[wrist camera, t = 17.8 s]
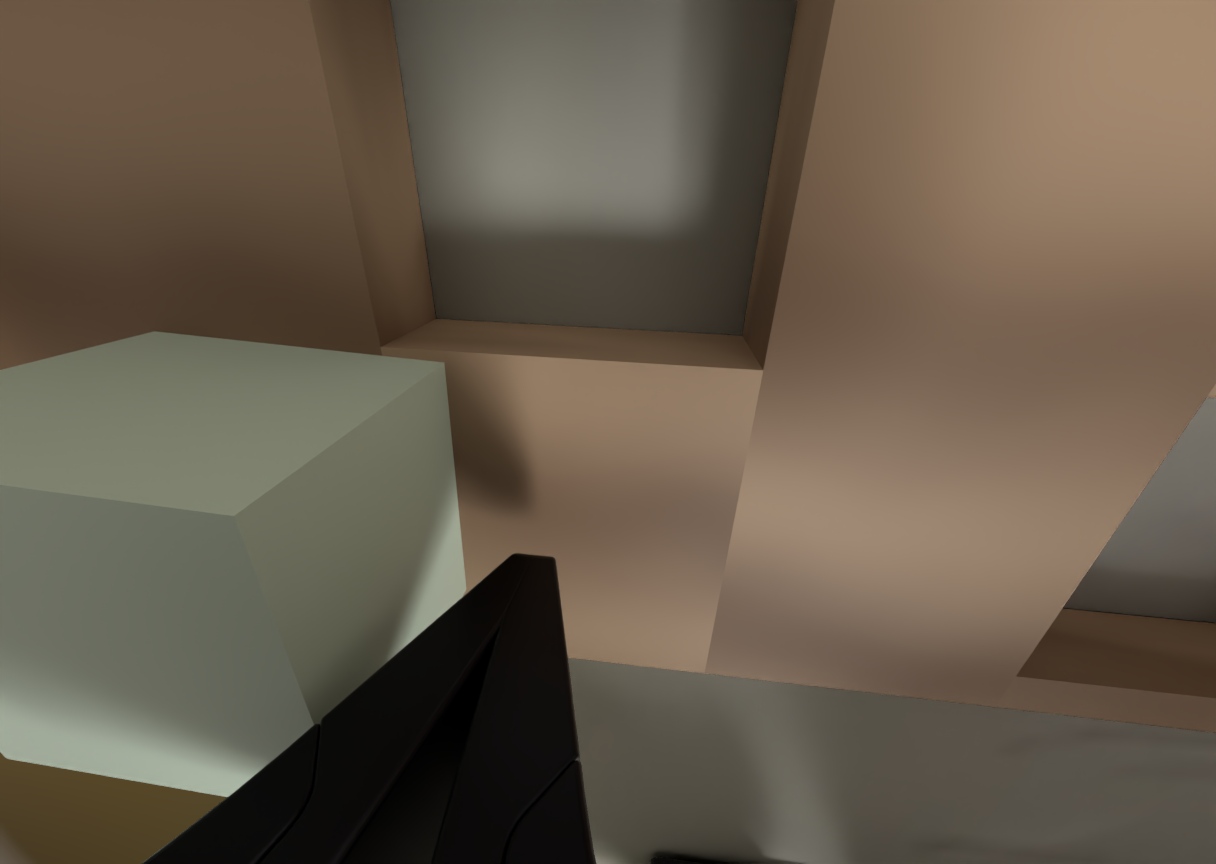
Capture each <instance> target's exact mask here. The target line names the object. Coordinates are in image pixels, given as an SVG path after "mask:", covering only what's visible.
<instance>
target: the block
mask: <svg viewBox="0 0 1216 864" xmlns="http://www.w3.org/2000/svg"><path fill="white" fill-rule="evenodd" d="M465 591H466V580H465V569H464V559H463V549H462V539H461V528H460V518H459V508H458V498H457V487H456V477H455V467H454V457H453V446H452V436H451V426H450V416H449V405H448V395H447V385H446V375H445V364H444V362H435V361H426V360H416V359H407V358H398V357H388V356H379V355H370V354H361V353H351V352H342V351H333V350H323V349H314V348H305V347H295V346H286V345H277V344H268V343H258V342H249V341H240V340H230V339H221V338H212V337H202V336H193V335H184V334H174V333H165V332H156V331H154V332H150V333H146V334H142V335H138V336H134V337H130V338H126V339H122V340H118V341H114V342H110V343H106V344H102V345H98V346H94V347H90V348H86V349H82V350H78V351H74V352H70V353H66V354H62V355H58V356H54V357H50V358H46V359H42V360H38V361H34V362H30V363H26V364H22V365H19V366H15V367H11V368H7V369H3V370H0V752H1V753H2V754H3V755H4V756H5V757H6V758H7V759H12V760H18V761H24V762H29V763H36V764H41V765H47V766H53V767H58V768H64V769H70V770H76V771H81V772H87V773H94V774H98V775H104V776H110V777H116V778H121V779H128V780H133V781H139V782H145V783H150V784H156V785H161V786H168V787H173V788H179V789H184V790H190V791H196V792H202V793H208V794H213V795H219V796H225V797H229V796H230V795H231V794H232V793H234V792H235V791H236V790H237V789H239V788H240V787H241V786H242V785H243V784H245V783H246V782H247V781H248V780H249V779H251V778H252V777H253V776H254V775H255V774H257V773H258V772H259V771H260V770H261V769H263V768H264V767H265V766H266V765H267V764H269V763H270V762H271V761H272V760H273V759H275V758H276V757H277V756H278V755H279V754H281V753H282V752H283V751H284V750H285V749H287V748H288V747H289V746H290V745H291V744H292V743H293V742H295V741H296V740H297V739H298V738H299V737H300V736H302V735H303V734H304V733H305V732H306V731H307V730H309V729H310V728H311V727H312V726H313V725H314V724H320V723H321V719H322V718H323V717H324V716H325V715H326V714H327V713H329V712H330V711H331V710H332V709H333V708H334V707H336V706H337V705H338V704H339V703H340V702H341V701H342V700H344V699H345V698H346V697H347V696H348V695H349V694H351V693H352V692H353V691H354V690H355V689H356V688H358V687H359V686H360V685H361V684H362V683H363V682H364V681H366V680H367V679H368V678H369V677H370V676H371V675H373V674H374V673H375V672H376V671H377V670H378V669H380V668H381V667H382V666H383V665H384V664H385V663H386V662H388V661H389V660H390V659H391V658H392V657H393V656H395V655H396V654H397V653H398V652H399V651H400V650H402V649H403V648H404V647H405V646H406V645H407V644H408V643H410V642H411V641H412V640H413V639H414V638H415V637H417V636H418V635H419V634H420V633H421V632H422V631H424V630H425V629H426V628H427V627H428V626H429V625H430V624H432V623H433V622H434V621H435V620H436V619H437V618H439V617H440V616H441V615H442V614H443V613H444V612H446V611H447V610H448V609H449V608H450V607H451V606H452V605H454V604H455V603H456V602H457V601H458V600H459V599H461V598H462V597H463V595H464V593H465Z"/></svg>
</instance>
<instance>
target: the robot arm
mask: <svg viewBox="0 0 1216 864" xmlns="http://www.w3.org/2000/svg"><path fill="white" fill-rule="evenodd" d="M142 864H596V860H595V855H594V850H593V843H592V837H591V831H590V824H589V818H588V811H587V805H586V798H585V790H584V782H583V774H582V766H581V763H580V752H579V744H578V736H577V728H576V720H575V711H574V703H573V695H572V687H571V679H570V671H569V663H568V655H567V646H566V638H565V630H564V622H563V614H562V606H561V598H560V589H559V581H558V573H557V565H556V559H555V558H554V557H551V556H541V555H532V554H522V553H514V554H512V555H510V556H509V557H508V558H507V559H506V560H505V561H503V562H502V563H501V564H500V565H499V566H498V567H496V568H495V569H494V570H493V571H492V572H491V573H490V574H488V575H487V576H486V577H485V578H484V579H483V580H481V581H480V582H479V583H478V584H477V585H476V586H474V587H473V588H472V589H471V590H470V591H469V592H468V593H466V594H465V595H464V596H463V597H462V598H461V599H459V600H458V601H457V602H456V603H455V604H454V605H452V606H451V607H450V608H449V609H448V610H447V611H446V612H444V613H443V614H442V615H441V616H440V617H439V618H437V619H436V620H435V621H434V622H433V623H432V624H430V625H429V626H428V627H427V628H426V629H425V630H424V631H422V632H421V633H420V634H419V635H418V636H417V637H415V638H414V639H413V640H412V641H411V642H410V643H408V644H407V645H406V646H405V647H404V648H403V649H402V650H400V651H399V652H398V653H397V654H396V655H395V656H393V657H392V658H391V659H390V660H389V661H388V662H386V663H385V664H384V665H383V666H382V667H381V668H380V669H378V670H377V671H376V672H375V673H374V674H373V675H371V676H370V677H369V678H368V679H367V680H366V681H364V682H363V683H362V684H361V685H360V686H359V687H358V688H356V689H355V690H354V691H353V692H352V693H351V694H349V695H348V696H347V697H346V698H345V699H344V700H342V701H341V702H340V703H339V704H338V705H337V706H336V707H334V708H333V709H332V710H331V711H330V712H329V713H327V714H326V715H325V716H324V717H323V718H322V719H321V723H320V724H314V725H313V726H312V727H311V728H310V729H309V730H307V731H306V732H305V733H304V734H303V735H302V736H300V737H299V738H298V739H297V740H296V741H295V742H293V743H292V744H291V745H290V746H289V747H288V748H287V749H285V750H284V751H283V752H282V753H281V754H279V755H278V756H277V757H276V758H275V759H273V760H272V761H271V762H270V763H269V764H267V765H266V766H265V767H264V768H263V769H261V770H260V771H259V772H258V773H257V774H255V775H254V776H253V777H252V778H251V779H249V780H248V781H247V782H246V783H245V784H243V785H242V786H241V787H240V788H239V789H237V790H236V791H235V792H234V793H232V794H231V795H230V796H229V797H227V798H226V799H225V800H224V801H222V802H221V803H220V804H219V805H217V806H216V807H214V808H213V809H212V810H211V811H209V812H208V813H207V814H205V815H204V816H203V817H202V818H200V819H199V820H198V821H197V822H195V823H194V824H193V825H191V826H190V827H189V828H188V829H186V830H185V831H184V832H182V833H181V834H180V835H179V836H177V837H176V838H175V839H173V840H172V841H171V842H169V843H168V844H167V845H166V846H164V847H163V848H162V849H160V850H159V851H158V852H156V853H155V854H154V855H152V856H151V857H150V858H148V859H147V860H146V861H144V862H143V863H142ZM649 864H702V863H696V862H689V861H682V860H676V859H669V858H661V857H657V858H653V859H651V860H650V863H649Z"/></svg>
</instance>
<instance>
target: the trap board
mask: <svg viewBox="0 0 1216 864" xmlns="http://www.w3.org/2000/svg"><path fill="white" fill-rule="evenodd" d="M154 331H156V332H165V333H174V334H184V335H193V336H202V337H212V338H221V339H230V340H240V341H249V342H258V343H268V344H277V345H286V346H295V347H305V348H314V349H323V350H333V351H342V352H351V353H361V354H370V355H379V356H388V357H398V358H407V359H416V360H426V361H435V362H444V364H445V375H446V385H447V395H448V405H449V416H450V426H451V436H452V446H453V457H454V467H455V477H456V487H457V498H458V508H459V518H460V528H461V539H462V549H463V559H464V569H465V580H466V591H465V593H464V595H465V594H466V593H468V592H469V591H470V590H471V589H472V588H473V587H474V586H476V585H477V584H478V583H479V582H480V581H481V580H483V579H484V578H485V577H486V576H487V575H488V574H490V573H491V572H492V571H493V570H494V569H495V568H496V567H498V566H499V565H500V564H501V563H502V562H503V561H505V560H506V559H507V558H508V557H509V556H510V555H512V554H514V553H522V554H532V555H541V556H551V557H554V558H555V559H556V565H557V573H558V581H559V589H560V598H561V606H562V614H563V622H564V630H565V638H566V646H567V655H568V658H575V659H584V660H593V661H601V662H610V663H618V664H627V665H636V666H644V667H653V668H662V669H670V670H679V671H687V672H696V673H705V674H713V675H722V676H730V677H739V678H748V679H756V680H765V681H774V682H782V683H791V684H799V685H808V686H817V687H825V688H834V689H842V690H851V691H860V692H868V693H877V694H886V695H894V696H903V697H911V698H920V699H929V700H937V701H946V702H954V703H963V704H972V705H980V706H989V707H998V708H1006V709H1015V710H1023V711H1032V712H1041V713H1049V714H1058V715H1066V716H1075V717H1084V718H1092V719H1101V720H1110V721H1118V722H1127V723H1135V724H1144V725H1153V726H1161V727H1170V728H1178V729H1187V730H1196V731H1204V732H1213V733H1216V624H1215V623H1205V622H1194V621H1184V620H1174V619H1164V618H1154V617H1143V616H1133V615H1123V614H1113V613H1103V612H1092V611H1082V610H1072V609H1062V608H1063V607H1064V605H1065V604H1066V602H1067V601H1068V599H1069V598H1070V597H1071V595H1072V594H1073V592H1074V591H1075V589H1076V588H1077V586H1078V585H1079V583H1080V582H1081V580H1082V579H1083V578H1084V576H1085V575H1086V573H1087V572H1088V570H1089V569H1090V567H1091V566H1092V564H1093V563H1094V561H1095V560H1096V559H1097V557H1098V556H1099V554H1100V553H1101V551H1102V550H1103V548H1104V547H1105V545H1106V544H1107V542H1108V541H1109V539H1110V538H1111V537H1112V535H1113V534H1114V532H1115V531H1116V529H1117V528H1118V526H1119V525H1120V523H1121V522H1122V520H1123V519H1124V518H1125V516H1126V515H1127V513H1128V512H1129V510H1130V509H1131V507H1132V506H1133V504H1134V503H1135V501H1136V500H1137V499H1138V497H1139V496H1140V494H1141V493H1142V491H1143V490H1144V488H1145V487H1146V485H1147V484H1148V482H1149V481H1150V480H1151V478H1152V477H1153V475H1154V474H1155V472H1156V471H1157V469H1158V468H1159V466H1160V465H1161V463H1162V462H1163V461H1164V459H1165V458H1166V456H1167V455H1168V453H1169V452H1170V450H1171V449H1172V447H1173V446H1174V444H1175V443H1176V442H1177V440H1178V439H1179V437H1180V436H1181V434H1182V433H1183V431H1184V430H1185V428H1186V427H1187V425H1188V424H1189V422H1190V421H1191V420H1192V418H1193V417H1194V415H1195V414H1196V412H1197V411H1198V409H1199V408H1200V406H1201V405H1202V403H1203V402H1204V401H1205V399H1206V398H1207V397H1209V398H1216V0H798V1H797V7H796V13H795V19H794V25H793V32H792V38H791V44H790V50H789V56H788V62H787V68H786V74H785V80H784V86H783V92H782V98H781V104H780V110H779V116H778V122H777V128H776V134H775V140H774V146H773V152H772V158H771V164H770V170H769V176H768V183H767V189H766V195H765V201H764V207H763V213H762V219H761V225H760V231H759V237H758V243H757V249H756V255H755V261H754V267H753V273H752V279H751V285H750V291H749V297H748V303H747V309H746V315H745V321H744V328H743V334H742V336H740V335H722V334H704V333H686V332H667V331H649V330H631V329H612V328H594V327H576V326H558V325H539V324H521V323H503V322H484V321H466V320H448V319H436V315H435V308H434V301H433V294H432V288H431V281H430V274H429V267H428V260H427V253H426V246H425V239H424V232H423V225H422V219H421V212H420V205H419V198H418V191H417V184H416V177H415V170H414V163H413V157H412V150H411V143H410V136H409V129H408V122H407V115H406V108H405V101H404V94H403V88H402V81H401V74H400V67H399V60H398V53H397V46H396V39H395V32H394V25H393V19H392V12H391V5H390V0H0V370H3V369H7V368H11V367H15V366H19V365H22V364H26V363H30V362H34V361H38V360H42V359H46V358H50V357H54V356H58V355H62V354H66V353H70V352H74V351H78V350H82V349H86V348H90V347H94V346H98V345H102V344H106V343H110V342H114V341H118V340H122V339H126V338H130V337H134V336H138V335H142V334H146V333H150V332H154ZM464 595H463V596H464Z"/></svg>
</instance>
